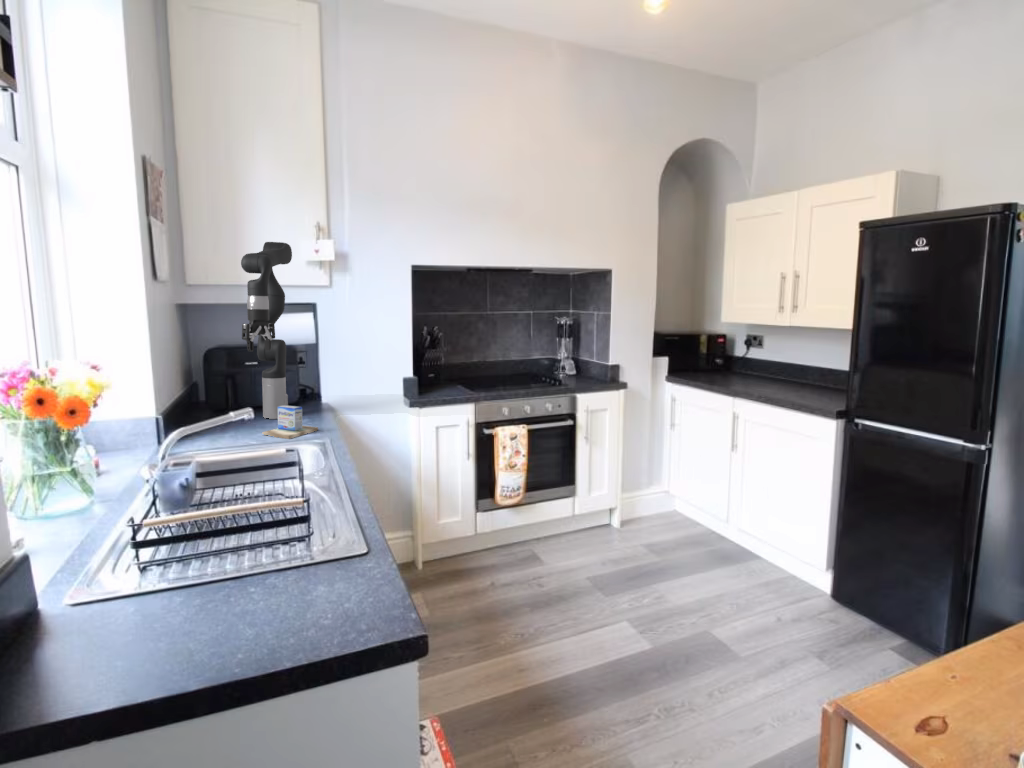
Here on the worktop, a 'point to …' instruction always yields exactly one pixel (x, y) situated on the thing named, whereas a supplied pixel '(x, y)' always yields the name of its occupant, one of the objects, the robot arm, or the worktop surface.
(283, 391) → the robot arm
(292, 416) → the medicine box
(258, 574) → the worktop surface
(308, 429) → the board
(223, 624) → the worktop surface
